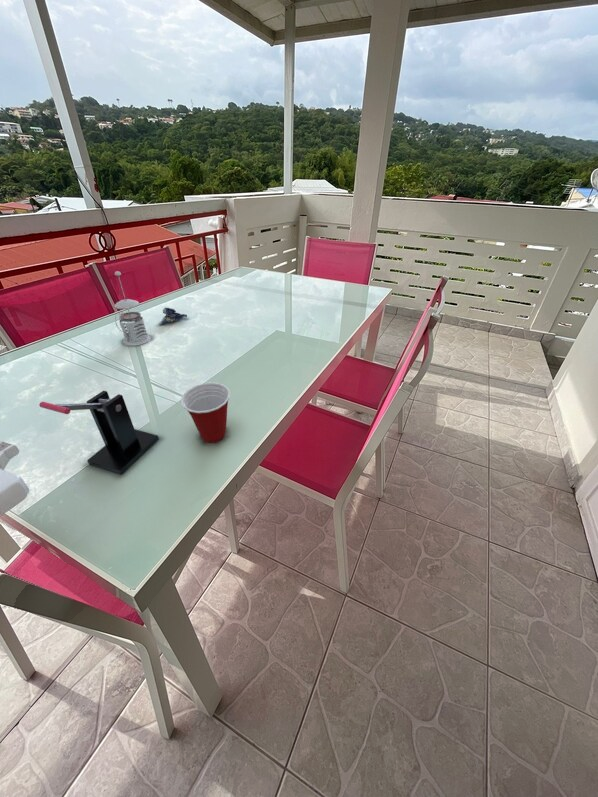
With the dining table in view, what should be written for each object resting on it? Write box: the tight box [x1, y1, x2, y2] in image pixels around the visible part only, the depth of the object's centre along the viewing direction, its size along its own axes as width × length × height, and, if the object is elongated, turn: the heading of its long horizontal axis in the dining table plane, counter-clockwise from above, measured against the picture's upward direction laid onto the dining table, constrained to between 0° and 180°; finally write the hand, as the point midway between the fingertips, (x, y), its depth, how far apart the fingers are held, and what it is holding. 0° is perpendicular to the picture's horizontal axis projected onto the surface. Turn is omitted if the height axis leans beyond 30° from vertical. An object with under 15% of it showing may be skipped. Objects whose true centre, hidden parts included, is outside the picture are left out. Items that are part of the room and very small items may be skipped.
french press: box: [113, 270, 152, 347], centre depth 117 cm, size 10×12×25 cm
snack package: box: [158, 307, 188, 326], centre depth 140 cm, size 12×6×12 cm
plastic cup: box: [180, 381, 231, 443], centre depth 77 cm, size 11×11×12 cm
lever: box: [39, 398, 112, 415], centre depth 63 cm, size 13×6×2 cm
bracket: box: [86, 390, 159, 475], centre depth 71 cm, size 12×9×15 cm
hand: (11, 446), depth 52 cm, fingers closed
